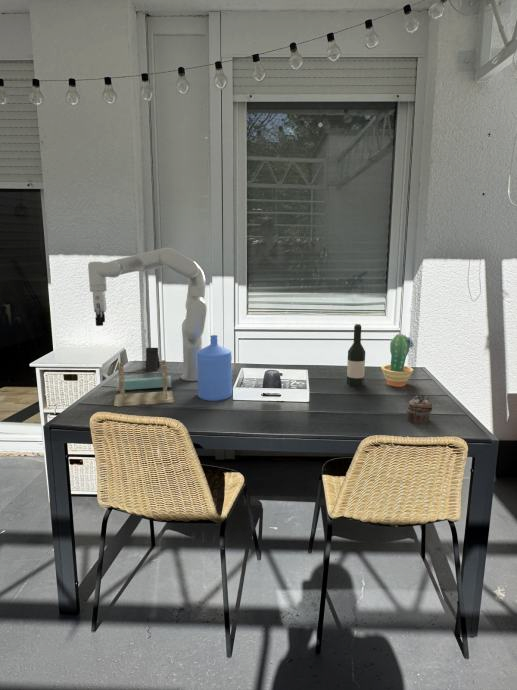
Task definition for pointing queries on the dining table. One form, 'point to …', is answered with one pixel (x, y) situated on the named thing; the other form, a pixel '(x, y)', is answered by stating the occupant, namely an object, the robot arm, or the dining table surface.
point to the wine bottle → (356, 360)
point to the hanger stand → (142, 398)
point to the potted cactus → (398, 361)
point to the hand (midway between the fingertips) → (100, 323)
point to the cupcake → (419, 409)
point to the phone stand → (152, 359)
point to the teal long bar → (144, 383)
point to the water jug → (214, 372)
